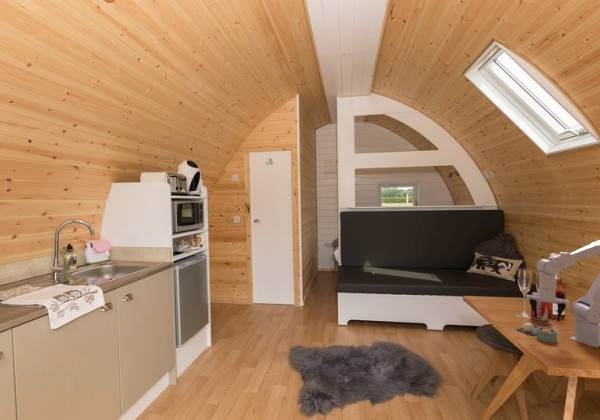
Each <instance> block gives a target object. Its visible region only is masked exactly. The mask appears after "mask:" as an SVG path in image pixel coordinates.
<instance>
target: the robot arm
mask: <svg viewBox="0 0 600 420" xmlns="http://www.w3.org/2000/svg"><path fill="white" fill-rule="evenodd" d="M593 255H598V257H599V258H600V239H599V240H596V241H592V242H591V243H590V244H588V245H586V246H583V247H581V248H579V249H577V250H575V251H573V252H570V253H569V252H566V251H561V252H559V254H557V255H555V256H549V257H547V259H546V258H545V259H544V258H542V259H540V260H539V261H537V263H536V264H535V268H536V270H537V271H538V292H539V296H537V295H532V294H526V295H525V296H526V301H528V303H529V304H530V307H531V306H532V309H533V311H534V315H535V318H537V301H541V302H548V304H557V315H556V321H557V322H560V319H561V316H562V314H563V312H564V311H565V309H566V306H568V307H569V306H570V311H571V313H572V314H573V317H574V336H571V337H569V340H573V341H575V342H578V343H580V344H584V345H588V346H591V347H593V348H600V272H599V273H598V274H597V276H596V278H595V280H593V283H592V284H591V286H590V288H589V289H588V291H587V292H586V294H585V295H584V296H581V297H579V298H578V299H577V300H576V301H574V302H573V303H572V304H571V305H570V301H569V299H564V298H559V297H556V283H557V281H556V276H557V274H558V272H559V271H560V270H562V269H565V268H568V267H571V266H573V265H575V263H576V261H578V260H581V259H584V258H587V257H588V258H589V257H591V256H593Z"/></svg>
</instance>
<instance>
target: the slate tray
mask: <svg viewBox="0 0 600 420" xmlns="http://www.w3.org/2000/svg"><path fill="white" fill-rule="evenodd" d="M532 325H533V326H534V330H533V331H532V332H527V331H525V330H524V328H523V326H522V327H519V328H516V331H517V332H521V333H522V334H525V335H529V336H532V337H533V336H534V337H535V336H537V327H539V325H535V324H532Z"/></svg>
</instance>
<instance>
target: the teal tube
mask: <svg viewBox="0 0 600 420" xmlns="http://www.w3.org/2000/svg"><path fill="white" fill-rule="evenodd" d="M543 329H549V330H550V331H551V332H552V333H551V332H544V331H542V330H543ZM536 338H537V339H538V340H539V341H542V342H546V343H557V342H558V332H557V330H556V329H554V328H551V327H546V326H538V327H537V335H536Z"/></svg>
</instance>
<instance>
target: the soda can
mask: <svg viewBox="0 0 600 420" xmlns="http://www.w3.org/2000/svg"><path fill="white" fill-rule="evenodd" d="M531 295H537V296H539V291H534V292H533V291H532V292H531ZM530 317H531V318H532V319H533V320H536V321H539V322H547V321H548V319H549V303H548V302H541V301H537V318H535V315H534V311H533V309H532V306H531V305H530Z"/></svg>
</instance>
